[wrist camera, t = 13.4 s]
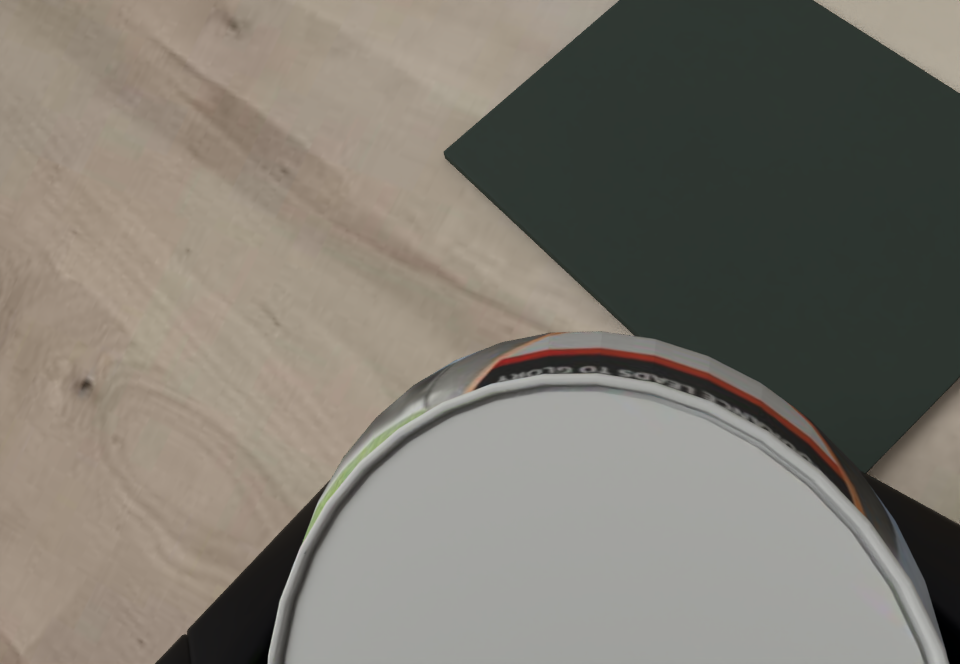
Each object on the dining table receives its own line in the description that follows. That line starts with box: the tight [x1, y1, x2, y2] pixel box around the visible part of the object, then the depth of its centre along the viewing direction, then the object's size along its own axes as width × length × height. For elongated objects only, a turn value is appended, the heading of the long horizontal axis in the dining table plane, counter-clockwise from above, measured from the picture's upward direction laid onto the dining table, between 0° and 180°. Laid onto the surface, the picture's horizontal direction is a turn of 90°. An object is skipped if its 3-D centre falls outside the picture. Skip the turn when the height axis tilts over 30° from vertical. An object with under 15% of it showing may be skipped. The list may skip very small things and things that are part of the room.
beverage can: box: [268, 331, 949, 664], centre depth 10 cm, size 6×7×12 cm
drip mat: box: [444, 0, 960, 473], centre depth 23 cm, size 20×16×1 cm
